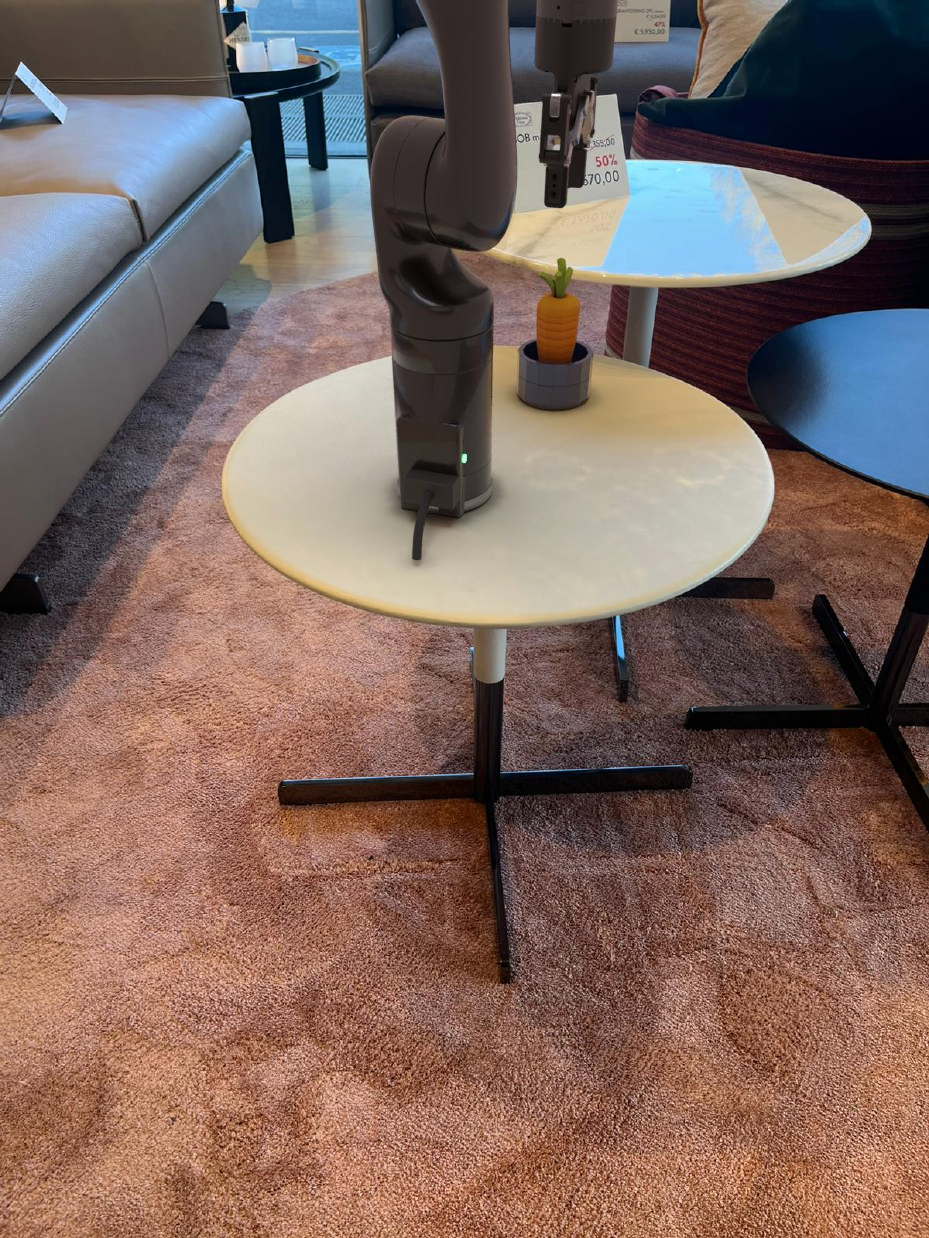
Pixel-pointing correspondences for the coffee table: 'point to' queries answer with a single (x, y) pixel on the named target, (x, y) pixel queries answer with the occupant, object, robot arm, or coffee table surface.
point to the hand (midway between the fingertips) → (564, 196)
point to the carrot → (557, 318)
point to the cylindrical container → (554, 378)
